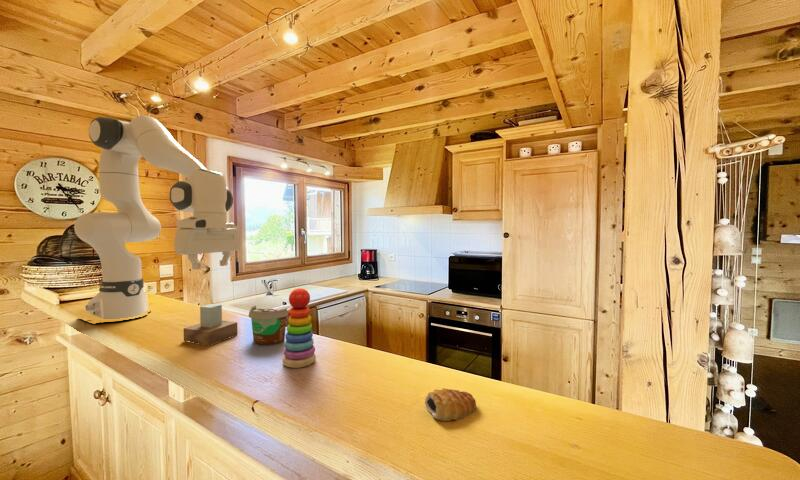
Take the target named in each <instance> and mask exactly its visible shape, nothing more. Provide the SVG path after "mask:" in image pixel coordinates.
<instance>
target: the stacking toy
mask: <svg viewBox="0 0 800 480" xmlns="http://www.w3.org/2000/svg"><path fill="white" fill-rule="evenodd" d="M310 301H311V295H310V293H309V291H308V290H307V289H305V288H300V287H299V288H295V289H293V290H292V291H291V292H290V294H289V295H288V303H289V305H290V306H291V307H290V309H288V319H287V320H288V325H286V331H287V332H285V340H284V345H283V346H284V350H283V357H282V363H283V365H284V366H286V367H288V368H291V369H299V368H304V367H308V366H310V365H312V363H314V362H315V360H316V358H317V357H316V356H317V355H316V353H315V351H316V347H315V345H314V339H313V336H314V334H313V331H312V329H313V325H312V322H311V321H312V316H311V315H309V314H310V313H311V310H310V307H308V305H309V303H310Z"/></svg>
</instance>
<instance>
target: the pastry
mask: <svg viewBox="0 0 800 480" xmlns="http://www.w3.org/2000/svg"><path fill="white" fill-rule="evenodd" d="M424 405H425V406H426V410H427V411H428V412H429V413H430V414H432V416H433V418H434V419H436V420H438V421H442V422H451V420H455V421H457V420H460V419H462V418H465V417H467V416H469V415H470V414H473V412H474V411H475V410H476V408H477V401H476V399H475V397H473V395H472V394H471V393H469V392H467V391H463V390H462V391H460V390H457V389H452V388H451V389H448V388H442V389H434V390H433V391H432V392H431V391H430V392H428V393H427V395H426V396H425V399H424Z"/></svg>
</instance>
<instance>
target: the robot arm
mask: <svg viewBox="0 0 800 480" xmlns="http://www.w3.org/2000/svg"><path fill="white" fill-rule="evenodd" d="M88 136H89V139H90V141H91V143H93V145H95V146H96V147H98V148H101V151H100V155H99V160H98V181H99V183H98V184H99V186H98V187H99V194H100V196H101V197H102V198H103V199H104V200H106V201H108V202H109V203H111V204H112V205H113V206H114V207H115V208H116V210H117V212H110V211H109V212H106V211H105V212H104V211H97V212H90V213H84V214H81V215H80V216H78V217H77V218H76V220H75V222H74V225H73V228H74V234H75V235H76V236H77V237H78V239H80V240H81V241H82V242H84V243H86V244H88V245H89V246H90V247H92V249H93V250H94V251H95V252H96V254H97V256H98V257H99V261H100V266H101V276H102V279H101V280H102V281H101V282H98V286H99V289H98V291H99V292H98V293H97V294H95V296H93V297H92V298H91V299H89V301H87V304H85V307H84V308H85V310H86V314H87V313H90V314H92V315H95V316H97V317H100V318H102V319H120V318H128V317H133V316H137V315H140V314H143V313H145V312H146V311H147V310H148V309H149V304H148V297H147V296H148V295H147V292H146V291H145V290H144V289H143V288H145V285H144V284H145V281H144V278H143V272H142V271H143V270H142V268H143V267H142V266H143V265H142V259H141V257H140V256H138V255H137V254H135V253H133V252H130V251H129V250H128V249H127V247H126V245H125V243H143V242H149V241H152V240H155V239H157V238H158V237H159V236H160V234H161V232H162V224H161V222H160V220H159V219H158V218H157V217H155V216H154V215H153V214H151V212H150V211H149V210H148V209H147V208H146V206H145V204H144V203H143V200H142V197H141V191H140V177H139V176H140V175H139V161H140V160H141V159H142V158H143V159H144V160H145V161H147V162H148V163H149V164H150V165H152V166H153V167H156V168H160V169H163V170H167V171H171V172H174V173H176V174H179V175H180V174H181V175H182V176H185V177H187V179H184V180H178V181H177V182H175V183H174V184H173V185H172V186H171V187H170V190H169V201H170V203H171V204H172V207H174V208H175V209H177V211H182V212H189V213H193V215H191V216H189V217H185V218H183V219H180V220H176V222H175V223H176V224H175V225H176V228H177V230H176V232H175V234H174V243H173V245H174V252H175V253H176V254H177V255H181V256H183V255H186V256H187V258H188V260H189V262H190V263H191V269H192V270H195V271H196V270H201V268H202V263H201V262H199V261H198V260H197V258H198V257H199V255H200V254H201V255H202V254H213V253H221V254H222V259H220V260H219V266H220V267H226V266H228V264H229V263H228V261H229V259H230V257H231V255H232V252H237V251H239V250H241V238H240V232H239V226H238V225H237V224H236V223H233V222H231V223H229V222H228V218H227V217H228V214H227V213H228V211H230V209H232V207H233V204H234V196H233V194H232V192H231V190H230V189H229V188H228V187H227V182H226V179H225V175H224V174H223V173H222V172H220V171H215V170H209V169H207V168H206V167H205V166H204V165H203V163H201V162H200V161H199V159H197V158H196V157H194V156H193V155H192V154H191V153H190V152H189V151H188V150H186V149H185V148H184V147H183V146H182V145H181V144H180V143H179V142H177V140H176V139H175V138H174V137H173V135H172V134H171V132H169V130H168V129H167V128H166V127H165V126H164V125H163V124H162V123H161V122H160V121H158V119H156V118H154V117H153V116H150V115H139V116H135V117H133V118H132V119H131V120H130V121H126V120H121V119H116V118H112V117H106V116H98V117H95V118H93V119H92V120H91V122H90V123H89V127H88Z"/></svg>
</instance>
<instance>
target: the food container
mask: <svg viewBox="0 0 800 480" xmlns="http://www.w3.org/2000/svg"><path fill="white" fill-rule="evenodd" d="M287 317H289V310H288V308H287V307H286V308H284V309H279V310H278V309H274V308H263V309H262V308H257V305H254V306H252V307H250V309H249V312H248V318H250V319H251V328H252V339H253V344H254V345H256V346H260V347H261V346H262V347H264V346H266V347H267V346H276V345H279V344H282V343H285V341H286V337H285V336H286V329H287Z"/></svg>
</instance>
